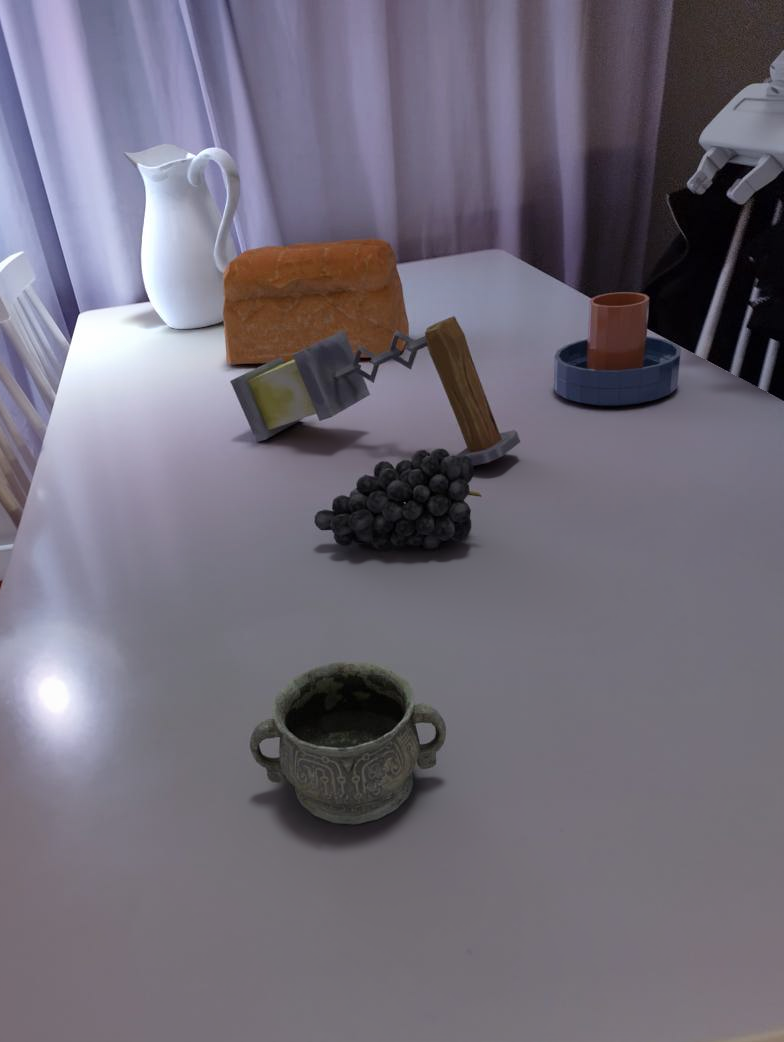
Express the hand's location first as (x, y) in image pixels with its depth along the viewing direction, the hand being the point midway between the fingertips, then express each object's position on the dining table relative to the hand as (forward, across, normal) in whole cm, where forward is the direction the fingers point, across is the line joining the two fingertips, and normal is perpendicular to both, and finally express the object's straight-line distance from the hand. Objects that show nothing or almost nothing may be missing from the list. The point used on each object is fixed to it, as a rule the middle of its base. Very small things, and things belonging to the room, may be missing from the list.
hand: (712, 195), depth 102 cm
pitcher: (+55, -63, -27) cm, 88 cm away
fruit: (+44, +30, -15) cm, 55 cm away
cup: (+21, 0, +7) cm, 22 cm away
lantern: (+43, +6, -14) cm, 45 cm away
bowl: (+21, 0, +8) cm, 22 cm away
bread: (+44, -35, -16) cm, 58 cm away
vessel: (+50, +62, -20) cm, 83 cm away
